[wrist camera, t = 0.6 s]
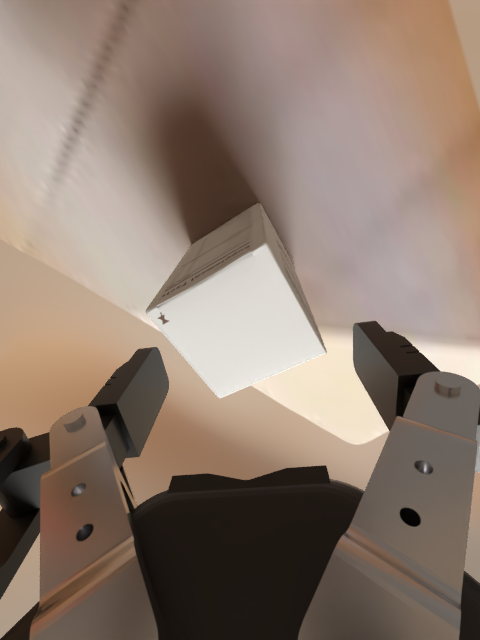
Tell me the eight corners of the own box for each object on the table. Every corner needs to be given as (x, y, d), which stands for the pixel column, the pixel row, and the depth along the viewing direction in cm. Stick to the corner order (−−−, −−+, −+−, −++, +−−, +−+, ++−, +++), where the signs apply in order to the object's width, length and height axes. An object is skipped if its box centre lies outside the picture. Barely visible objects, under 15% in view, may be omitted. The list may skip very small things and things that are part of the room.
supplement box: (230, 305, 37) (215, 404, 22) (189, 244, 33) (137, 314, 18) (298, 270, 34) (331, 356, 19) (261, 199, 30) (267, 239, 15)
